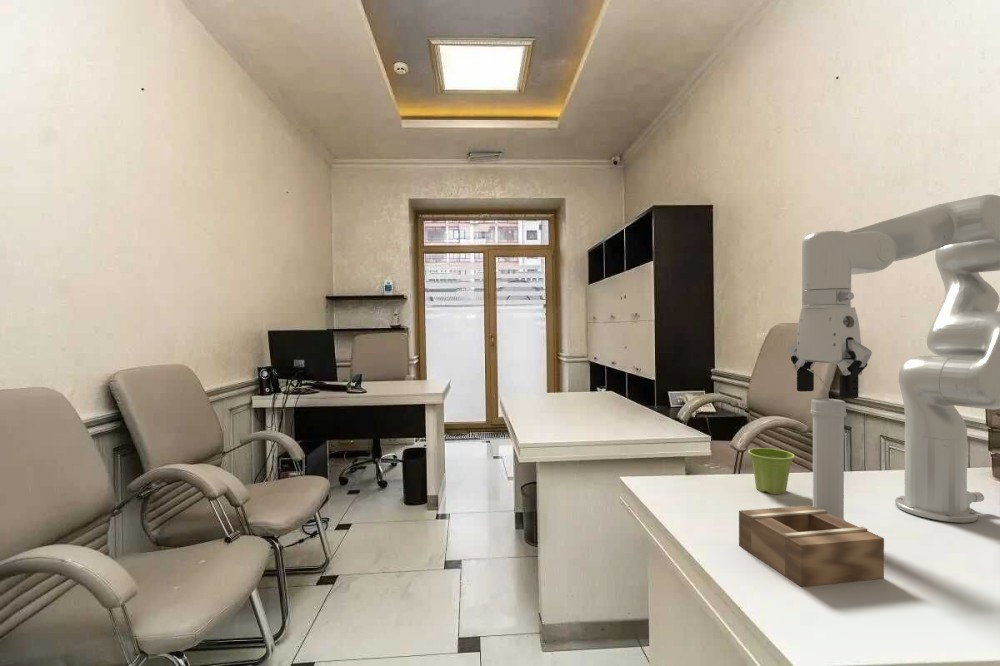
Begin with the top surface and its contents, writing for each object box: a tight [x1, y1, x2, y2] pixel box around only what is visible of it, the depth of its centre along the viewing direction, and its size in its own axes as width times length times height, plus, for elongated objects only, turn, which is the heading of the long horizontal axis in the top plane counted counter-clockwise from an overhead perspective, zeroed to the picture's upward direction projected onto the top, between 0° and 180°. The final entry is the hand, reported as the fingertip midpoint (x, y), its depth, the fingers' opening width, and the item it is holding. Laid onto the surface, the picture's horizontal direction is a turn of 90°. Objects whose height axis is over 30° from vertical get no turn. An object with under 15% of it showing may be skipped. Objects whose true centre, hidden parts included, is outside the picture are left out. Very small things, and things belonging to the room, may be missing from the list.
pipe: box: [807, 369, 848, 521], centre depth 91 cm, size 6×6×30 cm
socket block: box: [738, 505, 885, 588], centre depth 80 cm, size 14×14×6 cm
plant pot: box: [747, 447, 795, 495], centre depth 115 cm, size 9×9×9 cm
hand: (825, 394), depth 91 cm, fingers open, 9 cm apart
